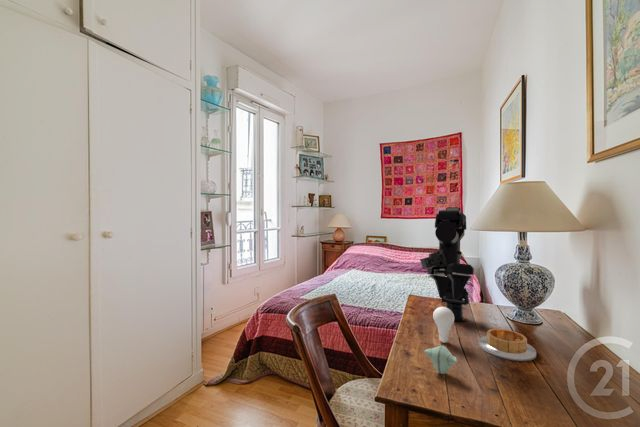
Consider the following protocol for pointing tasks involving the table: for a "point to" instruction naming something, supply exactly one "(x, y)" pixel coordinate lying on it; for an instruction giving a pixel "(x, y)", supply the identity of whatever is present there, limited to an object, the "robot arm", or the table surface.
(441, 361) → the robot head
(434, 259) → the robot arm
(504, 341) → the wooden ring on plate
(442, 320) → the lightbulb
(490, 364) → the table surface
